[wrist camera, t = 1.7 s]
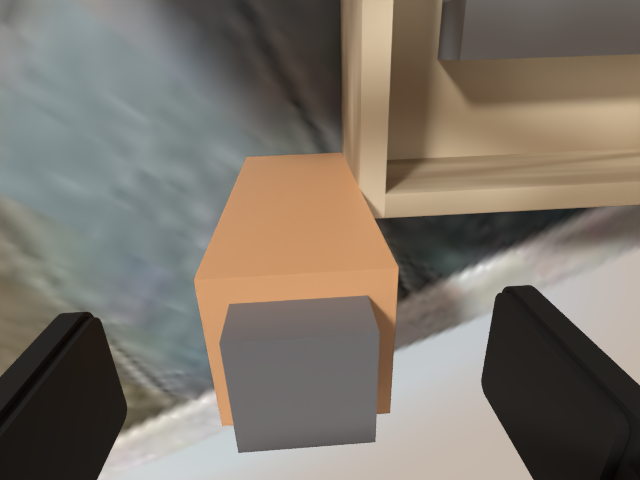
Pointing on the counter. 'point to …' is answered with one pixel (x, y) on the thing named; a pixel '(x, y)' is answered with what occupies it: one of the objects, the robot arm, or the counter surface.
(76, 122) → the counter surface
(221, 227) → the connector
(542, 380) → the robot arm
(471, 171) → the walled tray
